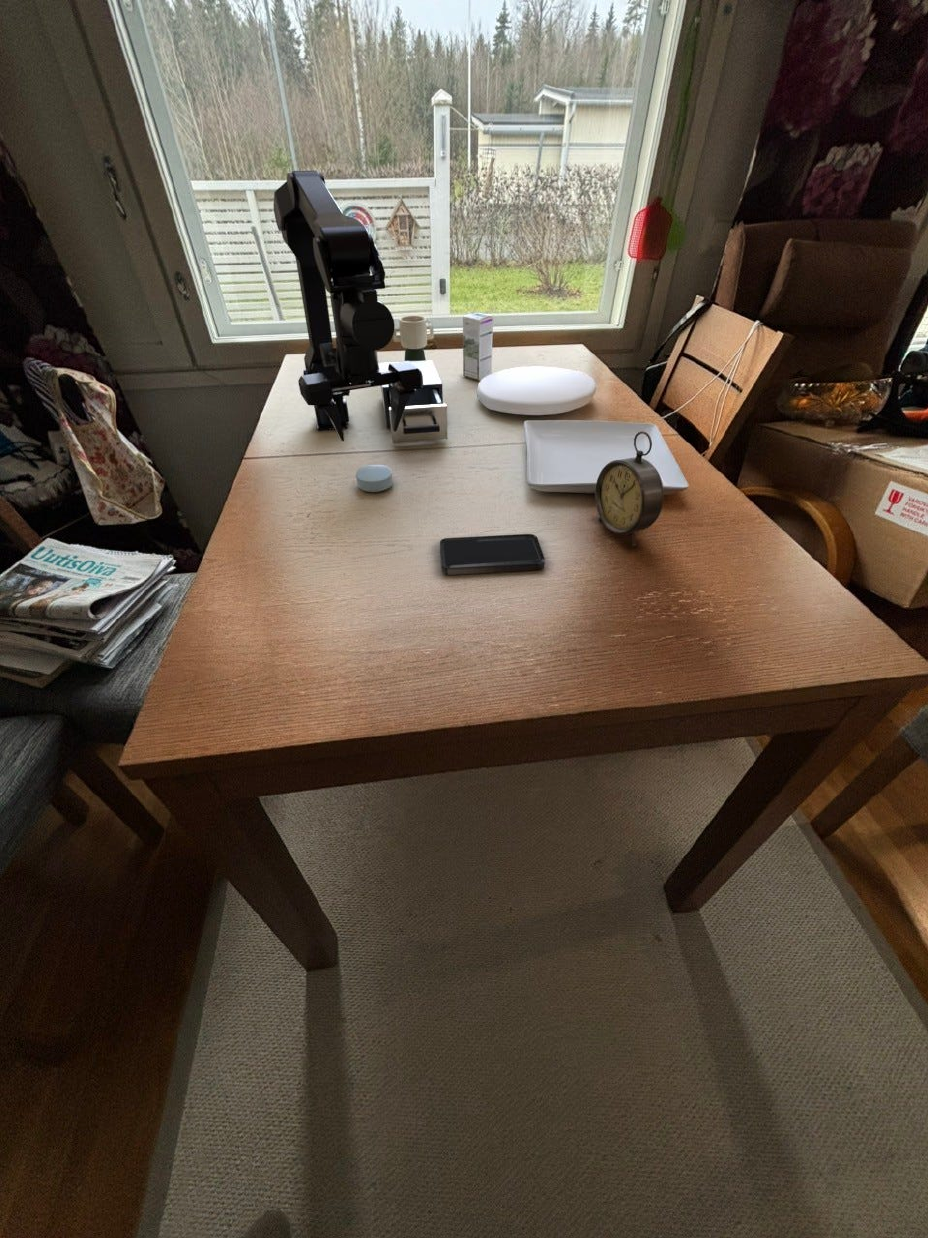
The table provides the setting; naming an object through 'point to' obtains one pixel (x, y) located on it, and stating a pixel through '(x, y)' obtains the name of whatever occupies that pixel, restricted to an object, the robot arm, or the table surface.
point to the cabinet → (429, 381)
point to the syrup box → (477, 345)
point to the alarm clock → (629, 494)
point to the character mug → (413, 336)
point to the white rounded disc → (536, 390)
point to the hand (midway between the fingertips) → (368, 435)
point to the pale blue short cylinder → (374, 478)
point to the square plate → (592, 453)
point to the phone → (491, 554)
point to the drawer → (421, 418)
